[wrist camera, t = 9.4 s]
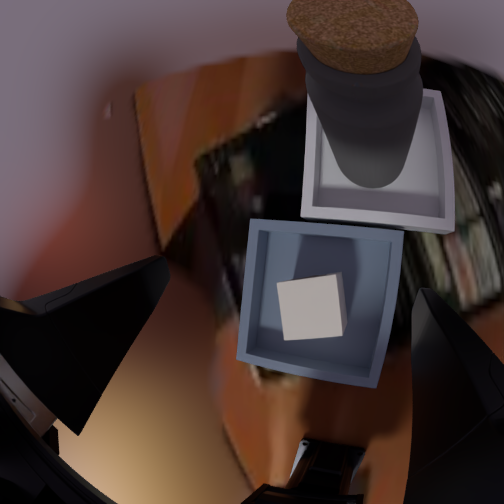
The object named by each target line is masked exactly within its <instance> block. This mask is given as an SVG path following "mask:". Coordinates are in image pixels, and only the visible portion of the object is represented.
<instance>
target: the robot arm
mask: <svg viewBox="0 0 504 504" xmlns="http://www.w3.org/2000/svg"><path fill="white" fill-rule="evenodd" d="M169 280H170V272H169V268H168V264H167V260H166V258H165V257H164V256H158V255H154V256H151V257H148V258H146V259H143V260H140V261H137V262H134V263H131V264H128V265H125V266H123V267H120V268H117V269H114V270H111V271H108V272H106V273H103V274H100V275H97V276H95V277H92V278H89V279H87V280H84V281H81V282H79V283H76V284H73V285H70V286H68V287H65V288H62V289H59V290H56V291H53V292H50V293H47V294H44V295H41V296H38V297H35V298H32V299H29V300H25V301H14V300H10V299H7V298H4V297H1V296H0V504H117V503H116V502H114V501H113V500H111V499H110V498H109V497H107V496H106V495H104V494H103V493H102V492H100V491H99V490H98V489H96V488H95V487H94V486H93V485H91V484H90V483H89V482H88V481H86V480H85V479H84V478H83V477H82V476H80V475H79V474H78V473H77V472H76V471H75V470H73V469H72V468H71V467H70V466H69V465H68V464H67V463H66V462H65V461H64V460H63V459H62V458H60V457H59V456H58V455H59V443H58V442H59V441H58V430H57V429H56V428H55V427H54V426H53V423H54V422H55V421H56V420H57V418H58V419H59V420H60V421H61V422H62V423H63V424H65V425H66V426H67V427H68V428H69V429H70V430H71V431H73V432H74V433H75V434H76V435H77V436H79V435H80V433H81V432H82V430H83V428H84V426H85V424H86V422H87V421H88V419H89V417H90V415H91V413H92V412H93V410H94V408H95V406H96V404H97V403H98V401H99V399H100V397H101V396H102V393H103V392H104V390H105V388H106V387H107V385H108V383H109V382H110V380H111V378H112V376H113V375H114V373H115V371H116V370H117V368H118V366H119V365H120V363H121V362H122V360H123V358H124V357H125V355H126V353H127V352H128V350H129V348H130V347H131V345H132V344H133V342H134V340H135V339H136V337H137V336H138V334H139V332H140V331H141V329H142V328H143V326H144V325H145V323H146V322H147V320H148V319H149V317H150V315H151V314H152V312H153V311H154V309H155V307H156V305H157V303H158V301H159V299H160V297H161V296H162V294H163V292H164V290H165V288H166V286H167V284H168V282H169ZM492 353H493V352H492V350H491V349H490V348H489V347H488V346H487V345H486V344H485V343H484V341H483V340H482V339H481V338H480V337H479V336H478V335H477V334H476V333H475V332H474V331H473V329H472V328H471V327H470V326H469V325H468V324H467V323H466V322H465V321H464V320H463V319H462V318H461V317H460V316H459V315H458V314H457V313H456V312H455V311H454V310H453V309H452V308H451V307H450V306H449V305H448V304H447V303H446V302H445V301H444V300H443V299H442V298H441V297H440V296H439V295H438V294H437V293H436V292H435V291H433V290H432V289H430V288H420V289H419V291H418V294H417V297H416V300H415V303H414V306H413V309H412V341H411V364H412V388H413V416H412V439H411V452H410V462H409V471H408V479H407V484H406V490H405V496H404V501H403V504H504V364H503V363H502V362H501V361H500V360H499V359H498V357H497V356H496V355H495V354H494V353H493V354H492ZM304 442H306V443H307V444H305V443H304ZM358 452H362V453H358ZM364 455H365V449H364V448H359V447H352V446H345V445H339V444H333V443H328V442H323V441H318V440H313V439H308V438H303V439H302V440H301V442H300V445H299V448H298V452H297V455H296V458H295V462H294V465H293V468H292V471H291V475H290V479H289V481H288V483H287V485H286V486H285V488H280V487H275V486H270V485H269V484H263V485H261V486H260V487H259V488H258V489H257V490H256V491H255V492H253V493H252V494H251V495H250V496H249V497H248V498H247V499H245V500H244V501H243V502H242V503H241V504H363V497H364V494H357V495H348V491H349V487H350V484H351V482H352V480H353V478H354V476H355V474H356V472H357V470H358V468H359V466H360V464H361V462H362V460H363V457H364Z"/></svg>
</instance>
